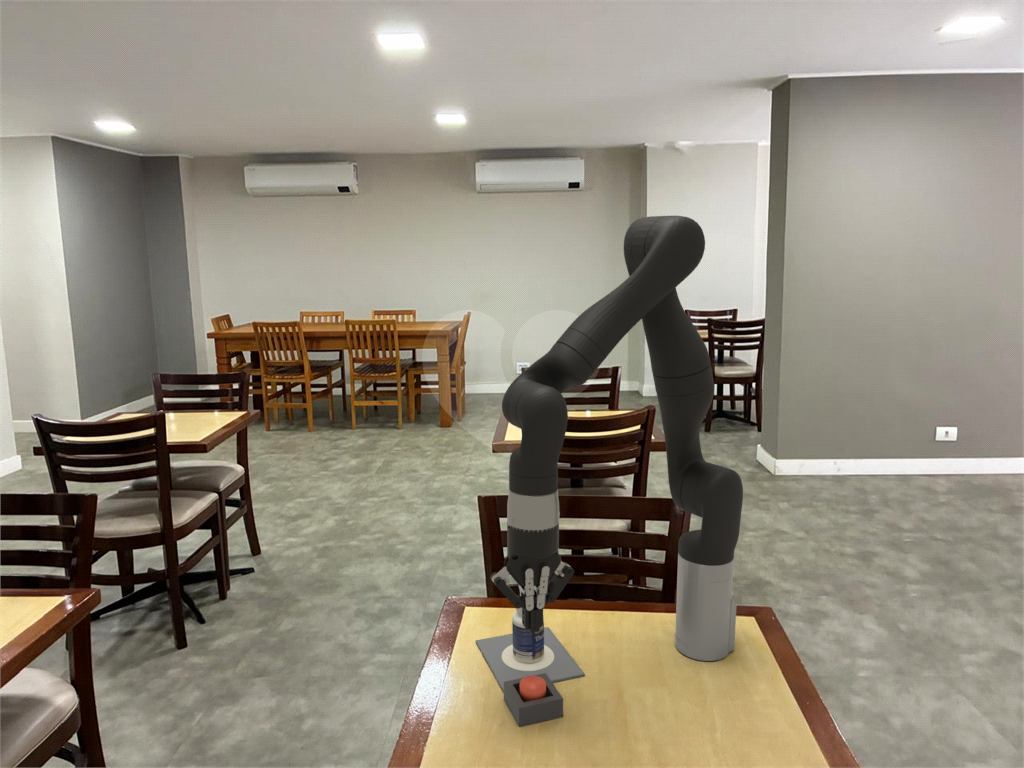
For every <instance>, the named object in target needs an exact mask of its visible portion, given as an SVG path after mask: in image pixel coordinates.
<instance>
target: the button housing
mask: <svg viewBox="0 0 1024 768" xmlns="http://www.w3.org/2000/svg"><path fill="white" fill-rule="evenodd" d="M534 676H539V677H541V678H543V679H544V680H545V681H546V698H541V699H537V700H532V701H527V702H524V701H523V700H522V699H521V698H520V681H521V679H522V678H519V679H514V680H510V681H505V682H504V693H503V701H504V702H505V704H506V706H507V708H508V710H509V712H510V713H511V715H512V716H513V719H514V721H515V722H516V724H517V726H518V727H519V728H520V727H525V726H528V725H529V726H530V725H533V724H538V723H541V722H547V721H550V720H555V719H560V718H564V697H563V695H561V693H560V692H559V690H558V689H557V687H556V686H555V685H554V683H552V681H551V680H550V678H549V677H548V676H547V674H546V673H543V674H538V675H534Z"/></svg>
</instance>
